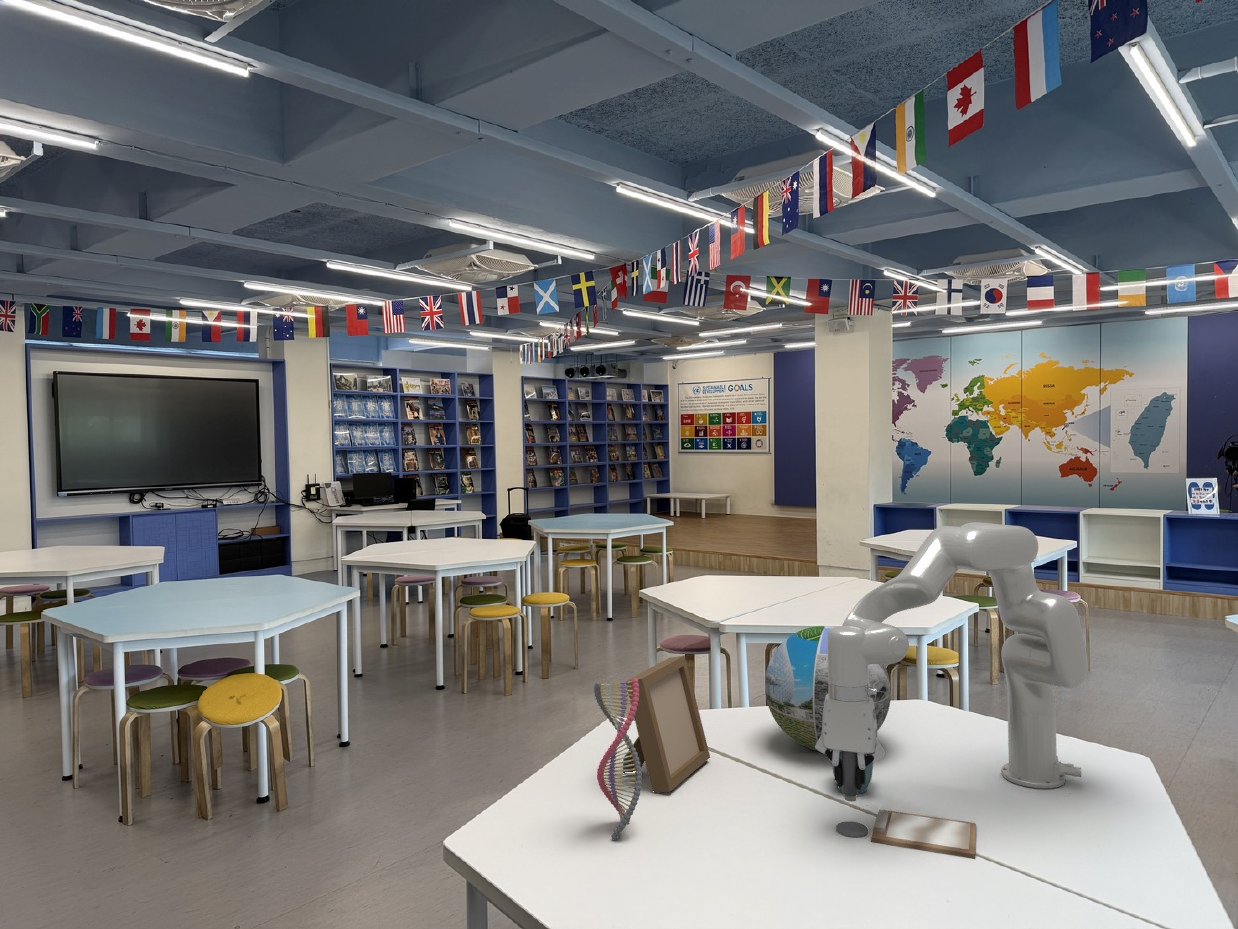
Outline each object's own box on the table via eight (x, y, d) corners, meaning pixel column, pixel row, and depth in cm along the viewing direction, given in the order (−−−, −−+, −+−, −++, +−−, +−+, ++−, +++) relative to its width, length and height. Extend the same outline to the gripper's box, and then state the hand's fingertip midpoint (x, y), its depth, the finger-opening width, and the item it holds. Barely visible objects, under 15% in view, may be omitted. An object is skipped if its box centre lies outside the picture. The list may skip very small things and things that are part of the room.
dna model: (649, 823, 166) (644, 675, 166) (635, 844, 158) (631, 688, 157) (607, 818, 169) (602, 672, 169) (591, 838, 161) (587, 685, 160)
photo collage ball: (796, 720, 225) (793, 610, 224) (908, 741, 207) (905, 621, 207) (745, 756, 201) (742, 633, 200) (867, 782, 183) (864, 647, 183)
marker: (860, 797, 161) (858, 733, 161) (857, 803, 158) (856, 738, 158) (843, 794, 163) (842, 731, 162) (840, 801, 160) (839, 736, 160)
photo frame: (710, 761, 198) (706, 657, 198) (670, 796, 179) (665, 681, 179) (655, 752, 205) (650, 652, 205) (611, 785, 186) (606, 674, 186)
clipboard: (976, 827, 161) (976, 818, 160) (975, 858, 149) (974, 848, 149) (879, 813, 168) (879, 804, 168) (871, 841, 156) (870, 832, 156)
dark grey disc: (870, 826, 162) (870, 824, 162) (865, 839, 157) (865, 837, 157) (838, 821, 165) (838, 819, 165) (833, 834, 159) (833, 832, 159)
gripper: (894, 690, 160) (896, 784, 161) (809, 682, 167) (811, 773, 167) (890, 701, 154) (892, 800, 154) (802, 692, 160) (803, 787, 161)
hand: (850, 785), depth 161 cm, fingers closed on marker, 3 cm apart
